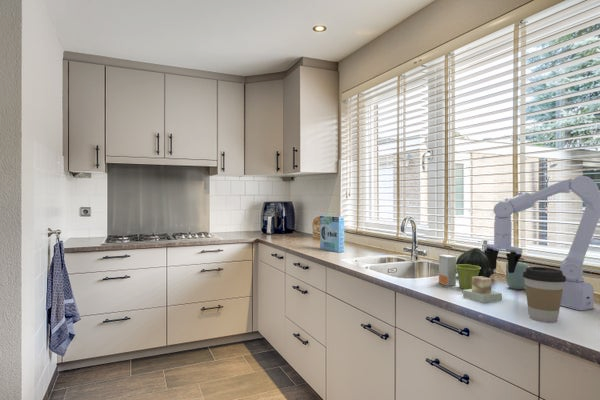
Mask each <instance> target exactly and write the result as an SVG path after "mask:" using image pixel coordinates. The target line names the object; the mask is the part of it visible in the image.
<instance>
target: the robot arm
mask: <svg viewBox="0 0 600 400" xmlns="http://www.w3.org/2000/svg"><path fill="white" fill-rule="evenodd" d="M571 191H572V193H574V195H576V196H578V197H579V198H580V200H581V201H582V202H583V204H584V205H585V209H584V211H583V214H582V216H581V220H580V221H579V225H578V227H577V230H576V233H575V235H574V238H573V240H572V243H571V245H570V247H569V251H568V253H567V256H566V257H565V258H564V259H563V260H562V261H561V262H560V265H559V266H560V268H559V270H561V271H562V273H563V275H564V276H565V277H566V281H565V282H564V286H563V292H562V298H561V303H560V307H565V308H569V309H573V310H575V311H585V310H591V309H595V308H596V307H595V306H594V286H593V284H591V283H590V282H587V281H585V278H583V277H582V276H583V274H584V269H583V265H584V261H585V257H586V255H587V253H588V249H589V246H590V243H591V241H592V238H593V236H594V234H595V232H596V231H595V230H596V229H597V228H596V227H597V225H598V223H599V220H600V189H599V186H598V184H597V183H596V182H595V181H594V180H593V179H592V178H590V177H589V176H586V175H578V176H576V177H574V178H569V179H565V180H561V181H558V182H556V183H554V184H551V185H549V186H547V187H544V188H542V189H540V190H536V191H534V192H533V193H529V192H528V191H527V192H525V191H524V192H522V191H521V192H518V193H517V195H515V196H513V197H511V198H505V199H504V201H499V202H498V203H496V204H495V205H494V207H493V214H494V221H493V224H494V225H493V243H484V246H483V247H484V248H483V249H484V251H483V252H484V253H485V254H486V256H487V258H488V260H489V264H490V268H491V269H493V270H496V269H497V261H498V260H497V259H498V256H499V252H504V253H505V255H506V259H507V262H508V271H509V273H514V271H515V268H516V265H517V263H518V262H519V260H520V259H521V258H522V255H523V248H522V247H521V248H520V247H516V246H512V214H517V213H520V212H523V211H525V210H526V211H527V210H528V209H531V208H533V207H534V206H535V203H536V202H538V201H541V200H543V199H546V198H549V197H552V196H554V195H557V194H562V193H563V194H570V192H571Z"/></svg>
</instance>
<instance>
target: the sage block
mask: <svg viewBox="0 0 600 400" xmlns="http://www.w3.org/2000/svg"><path fill="white" fill-rule="evenodd" d="M462 297H464V298H466V299H469V300H473V301H475V302H479V303H483V304H485V303H493V302H500V301H503V293H502V292H499V291H494V290H491V293H483V294H482V293H478V292H475V291H472V289H463V291H462Z"/></svg>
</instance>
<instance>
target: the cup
mask: <svg viewBox="0 0 600 400" xmlns="http://www.w3.org/2000/svg"><path fill="white" fill-rule="evenodd" d="M528 267H529V265H528V263H525V262H519V261H518V263H517V265H516V268H515V271H514V273H509V271H508V261H507V262H506V263H505V280H506V285H507V286H508V287H509V289H512V290H519V291H520V290H524V289H526V288H525V279H524V277H523V272H525V271H526V268H528Z"/></svg>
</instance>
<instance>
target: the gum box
mask: <svg viewBox="0 0 600 400" xmlns="http://www.w3.org/2000/svg"><path fill="white" fill-rule="evenodd" d="M319 220H320V222H319V230H320V231H319V233H320V234H319V237H320V238H319V240H320V241H319V244H320V245H319V246H320V247H319V250H324V251H330V252H335V253H345V216H337V215H319Z"/></svg>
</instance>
